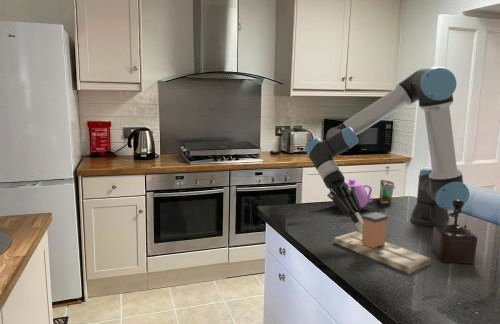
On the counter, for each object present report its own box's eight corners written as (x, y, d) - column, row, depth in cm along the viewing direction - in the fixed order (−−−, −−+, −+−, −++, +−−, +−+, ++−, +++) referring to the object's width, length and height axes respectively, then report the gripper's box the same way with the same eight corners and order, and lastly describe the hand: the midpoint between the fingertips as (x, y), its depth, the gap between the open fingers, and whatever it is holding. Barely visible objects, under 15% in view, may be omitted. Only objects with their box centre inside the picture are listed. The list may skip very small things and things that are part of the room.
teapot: (326, 211, 183) (328, 182, 181) (323, 202, 198) (324, 175, 196) (375, 213, 182) (378, 184, 179) (368, 204, 197) (370, 176, 194)
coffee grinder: (477, 265, 130) (484, 211, 127) (442, 263, 131) (448, 210, 128) (456, 246, 146) (462, 198, 142) (425, 245, 146) (430, 197, 143)
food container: (395, 206, 194) (396, 186, 192) (381, 205, 195) (383, 185, 193) (391, 199, 206) (393, 180, 204) (379, 198, 207) (380, 179, 205)
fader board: (334, 242, 147) (334, 237, 146) (355, 236, 154) (356, 230, 153) (409, 273, 123) (409, 267, 123) (430, 264, 130) (430, 258, 130)
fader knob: (361, 243, 140) (363, 215, 138) (373, 239, 144) (375, 212, 142) (373, 248, 136) (375, 219, 134) (385, 243, 140) (387, 215, 138)
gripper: (337, 178, 158) (368, 231, 148) (313, 182, 151) (345, 238, 141) (348, 167, 153) (382, 221, 143) (324, 171, 145) (358, 228, 135)
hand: (363, 230), depth 142 cm, fingers closed
